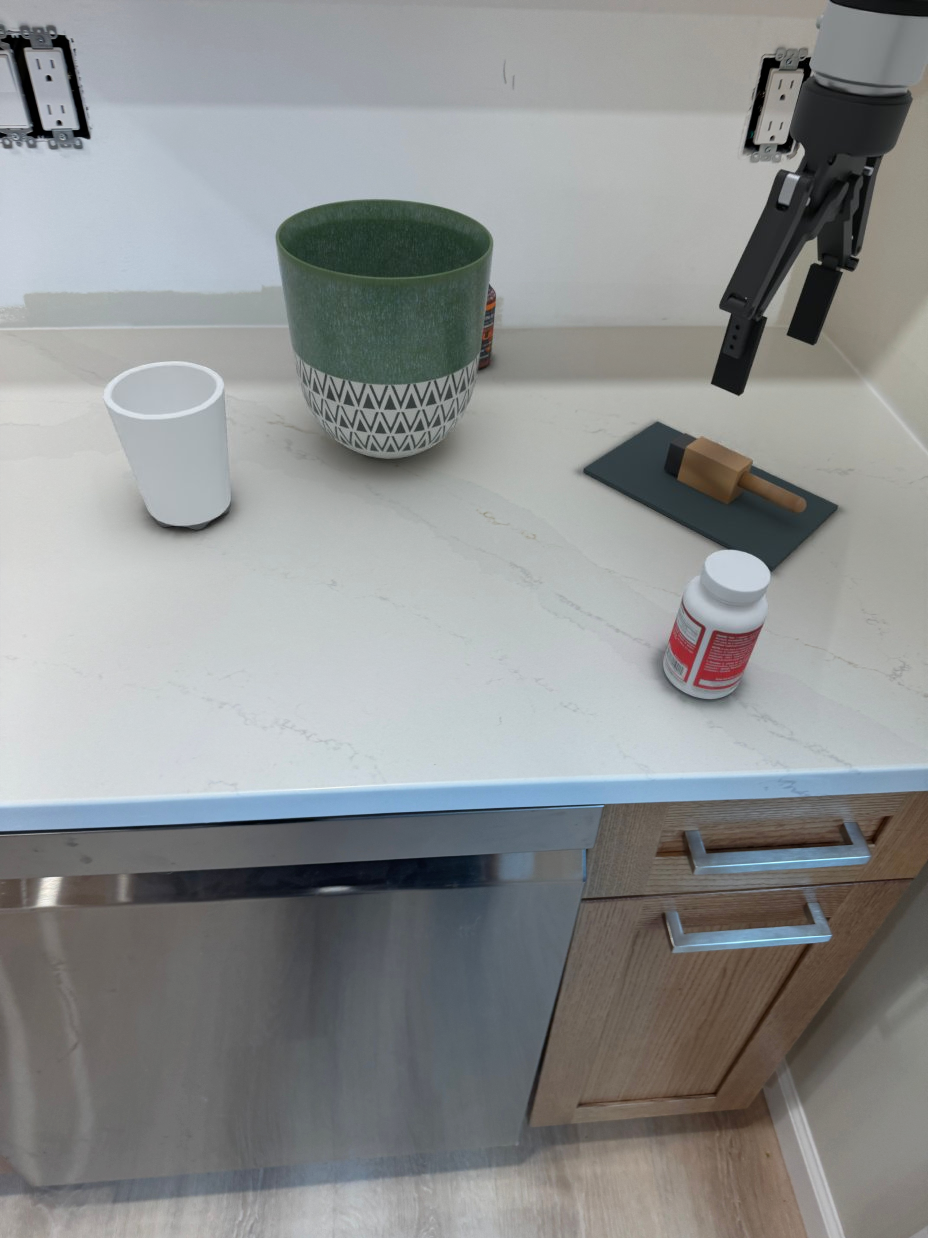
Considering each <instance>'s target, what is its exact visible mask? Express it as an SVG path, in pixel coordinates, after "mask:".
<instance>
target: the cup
mask: <svg viewBox="0 0 928 1238" xmlns="http://www.w3.org/2000/svg"><path fill="white" fill-rule="evenodd" d="M102 395H103V396H102V397H103V398H102V401H103V403H104V406H105V409H106V410H107V413H108V415H109V419H110V420H111V422H112V425H113V427H114V430H115V432H116V435H117V437H118V440H119V442H120V446H121V448H122V449H123V452H124V455H125V457H126V460H127V462H128V465H129V467H130V470H131V472H132V474H133V478H134V480H135V482H136V484H137V486H138V490H139V492H140V494H141V497H142V499H143V502H144V504H145V507H146V509H147V511H148V512H149V514H150V515H151V517H153V519H154V520H155V521H156V523H158V524H159V525H160V526H161V527H163V528H169V527H173V526H175V527H184V528H189V529H192V530H195V531H199V530H203V529H205V527H206V526H208V525H209V523H210V522H213V520H214V519H217V518H218V517H219V516H224V515H226V514H228V512H229V510H230V507H231V502H232V501H231V500H232V489H231V472H230V459H229V442H228V441H229V440H228V428H227V411H226V410H227V409H226V395H225V383H224V379H223V377H222V376H221V375H220V374H219V373H217V372H216V371H214V370H213V369H211V368H209V367H207V366H204V365H202V364H201V365H200V364H197V363H194V362H190V361H189V362H188V361H184V360H183V361H181V360H180V361H178V360H175V361H172V360H171V361H169V360H168V361H159V362H157V361H156V362H152V363H147V364H142V365H138V366H135V367H132V368H129V369H126V370H125V371H123V372H121V373H120V374H118V375H117V376H115V377H114V378H113V379H111V380H110V381H109V382H108V383H107V384H106V386H105V389H104V390H103V394H102Z"/></svg>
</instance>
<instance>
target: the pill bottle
mask: <svg viewBox="0 0 928 1238" xmlns="http://www.w3.org/2000/svg"><path fill="white" fill-rule="evenodd" d="M771 578H772V577H771V571H770V570H769V569H768V567H767V566H766V565H765V564H764V563H763V562H762V561H761V560H760V559H758V558H757V557H755V556H753V555H751V554H748V553H745V552H742V551H737V550H730V549H721V550H717V551H715V552H713V553H710V554H709V555H708V556H707V558H706V559H705V561H704V563H703V566H702V569H701V571H700V573H699V574H698V575H696V576H694V577H693V578H692V579H691V580H690V581H689V582H688V583H687V585H686V586H685V589H684V591H683V594H682V597H681V601H680V603H679V607H678V609H677V614H676V616H675V619H674V622H673V626H672V628H671V633H670V637H669V639H668V642H667V645H666V648H665V649H666V650H665V652H664V656H663V661H662V663H663V665H662V666H663V671H664V674H665V676H666V677H667V679H668V680H669V681H670V683H671V684H672V685H673V686H674V687H676V689H678V690H680V691H681V692H683V693H685V694H686V695H689V696H691V697H694V698H699V699H703V700H717V699H720V698H723V697H726V696H728V695H731V693H733V692H734V691H735V690H736V689H737V687H738V686H739V684H740V682H741V680H742V678H743V675H744V673H745V670H746V668H747V665H748V663H749V660H750V658H751V656H752V653H753V650H754V648H755V646H756V644H757V642H758V639H759V636H760V634H761V631H762V629H763V627H764V624H765V622H766V619H767V616H768V614H769V602H768V600H767V596H766V593H767V591H768V588H769V584H770V582H771Z"/></svg>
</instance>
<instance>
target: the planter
mask: <svg viewBox="0 0 928 1238" xmlns="http://www.w3.org/2000/svg"><path fill="white" fill-rule="evenodd" d="M274 237H275V238H274V239H275V247H276V254H277V255H276V256H277V261H278V262H277V263H278V270H279V274H280V280H281V286H282V291H283V292H282V293H283V298H284V304H285V311H286V318H287V324H288V325H287V326H288V330H289V337H290V342H291V348H292V349H291V350H292V354H293V361H294V366H295V371H296V376H297V380H298V383H299V386H300V390H301V392H302V395H303V398H304V401H305V402H306V405H307V407H308V409H309V411H310V413H311V415H312V416H313V418H314V420H315V421H316V422H317V424H319V426H320V427H321V429H323V430H324V431H325V433H326V434H328V435H329V436H330V438H332V439H334V440H335V441H336V442H338V443H339V444H341V445H342V446H343V447H345V448H347V449H349V450H351V451H354V452H355V453H358V454H360V455H364V456H365V457H366V456H367V457H370V458H375V459H376V458H377V459H385V460H386V459H388V460H389V459H392V460H394V459H402V458H407V457H411V456H414V455H417V454H420V453H423V452H424V451H428V450H429V449H430V448H433V447H434V446H436V445H437V444H438V443H440V442H442V440H444V439H445V438H446V437H447V436H448V435H450V433H451V432H452V431H453V430H454V429H455V428H456V427H457V426H458V424H459V423H460V421H461V420H462V419H463V416H464V415H465V413H466V411H467V409H468V406H469V404H470V401H471V400H472V397H473V396H472V395H473V393H474V390H475V386H476V382H477V377H478V372H479V369H478V365H479V358H480V350H481V343H482V336H483V329H484V320H485V311H486V303H487V295H488V288H489V284H490V282H489V281H491V272H492V265H493V256H494V255H493V254H494V238H493V235H492V233H491V232H490V230H489V229H487V227H486V226H485V225H484V224H483V223H481V222H480V221H478V220H476V219H475V218H473V217H471V216H469V215H467V214H464V213H462V212H459V211H458V210H457V211H456V210H454V209H450V208H447V207H444V206H440V205H436V204H431V203H425V202H419V201H413V200H412V201H411V200H404V199H390V198H389V199H388V198H387V199H386V198H385V199H383V198H368V199H367V198H366V199H351V200H342V201H335V202H329V203H324V204H320V205H316V206H313V207H310V208H306V209H304V210H301V211H298V212H297V213H295V214H292V215H291V216H289V217H288V218H286V219H285V220H284V221H282V222H281V224H280V225H278V227H277V229H276V232H275V236H274Z"/></svg>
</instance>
